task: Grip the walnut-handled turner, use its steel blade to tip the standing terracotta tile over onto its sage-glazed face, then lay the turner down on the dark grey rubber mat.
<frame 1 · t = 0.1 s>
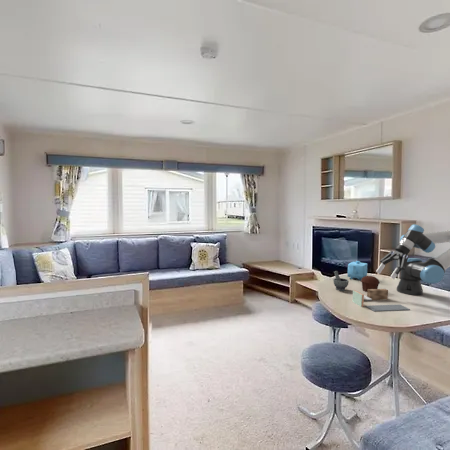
hand: (384, 275, 192), 15 cm above the table, tool tilted 35°, fingers open, 13 cm apart
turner: (377, 299, 194), on the table
muffin: (369, 291, 212), on the table
tool mat: (387, 308, 177), on the table
mortar and pestle: (339, 289, 214), on the table
tile: (357, 304, 183), on the table
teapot: (356, 279, 244), on the table
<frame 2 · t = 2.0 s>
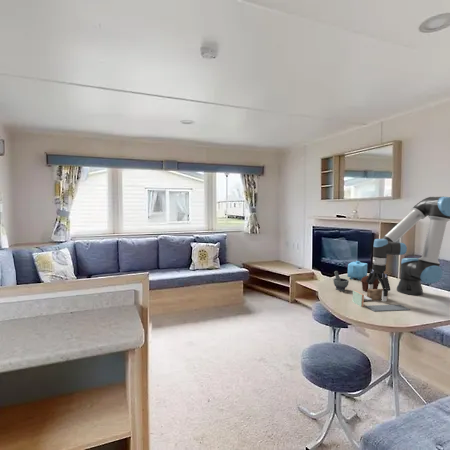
hand: (376, 297, 194), 1 cm above the table, tool pointing down, fingers open, 13 cm apart
nothing on the table moved.
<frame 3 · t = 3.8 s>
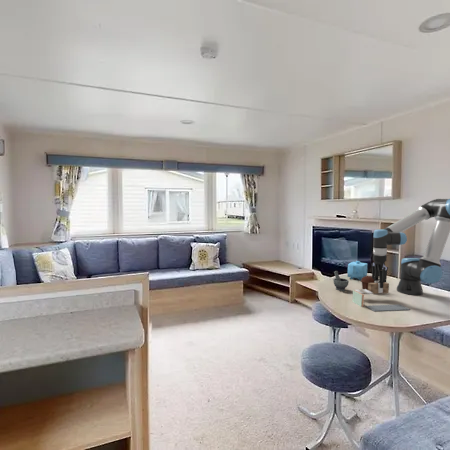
hand: (378, 291, 194), 4 cm above the table, tool pointing down, fingers closed on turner, 3 cm apart
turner: (378, 292, 194), point 4 cm above the table, touching gripper
everything else where it was.
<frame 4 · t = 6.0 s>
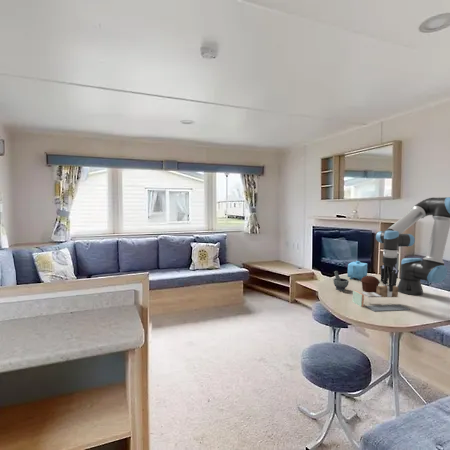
hand: (387, 295, 186), 5 cm above the table, tool pointing down, fingers closed on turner, 3 cm apart
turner: (386, 296, 186), point 4 cm above the table, touching gripper
everything else where it was.
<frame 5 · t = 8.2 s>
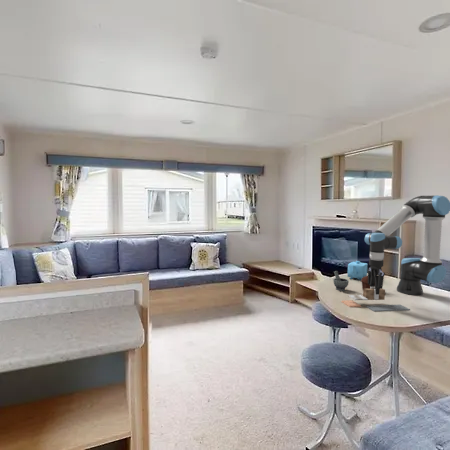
hand: (374, 298, 185), 3 cm above the table, tool pointing down, fingers closed on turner, 3 cm apart
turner: (373, 299, 185), point 3 cm above the table, touching gripper
tile: (356, 303, 183), on the table, tilted 91°
everything else where it was.
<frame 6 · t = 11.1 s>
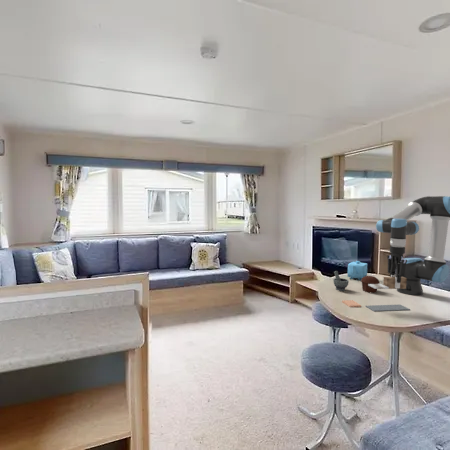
hand: (394, 287, 177), 12 cm above the table, tool pointing down, fingers closed on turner, 3 cm apart
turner: (394, 287, 177), point 12 cm above the table, touching gripper
everything else where it was.
when the fingers open (1 cm above the table, at t = 13.3 s): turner stays where it is, resting on tool mat.
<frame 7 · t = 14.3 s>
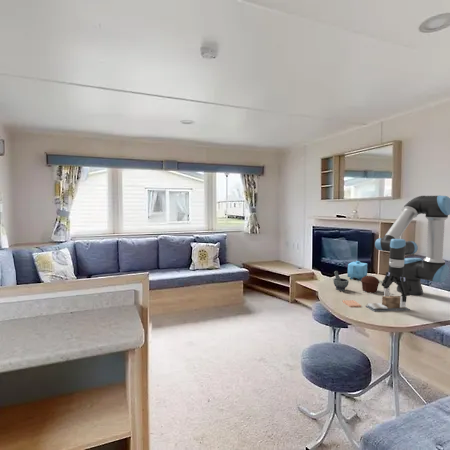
hand: (394, 303, 177), 3 cm above the table, tool pointing down, fingers open, 13 cm apart
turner: (393, 307, 177), resting on tool mat
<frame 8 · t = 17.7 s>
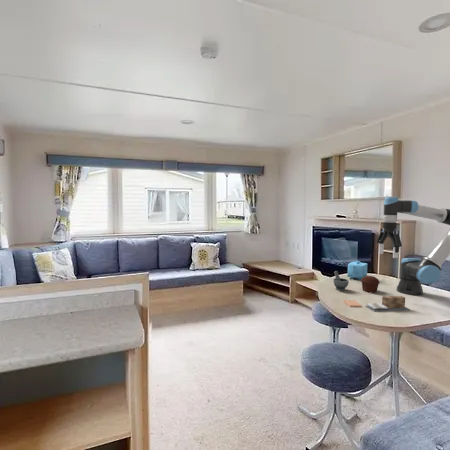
hand: (387, 255, 195), 27 cm above the table, tool pointing down, fingers open, 13 cm apart
at the end: tile tilted 91°; tile inside the target area (1.5 cm from its centre), on the table; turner inside the target area (0.6 cm from its centre), point 0.5 cm above the table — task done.
